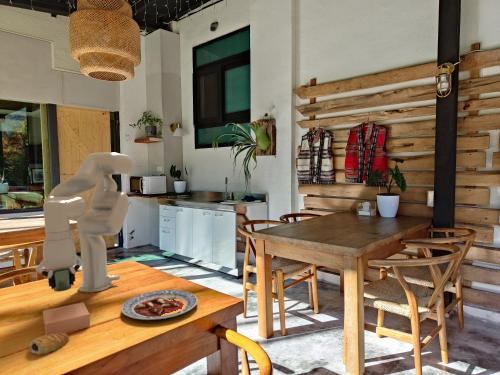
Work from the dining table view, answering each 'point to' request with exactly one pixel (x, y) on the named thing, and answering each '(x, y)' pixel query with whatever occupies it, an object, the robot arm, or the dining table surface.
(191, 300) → the ceramic plate
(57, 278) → the tea tin
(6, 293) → the dining table surface
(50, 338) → the pastry
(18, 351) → the dining table surface
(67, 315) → the terracotta stand
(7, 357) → the dining table surface
